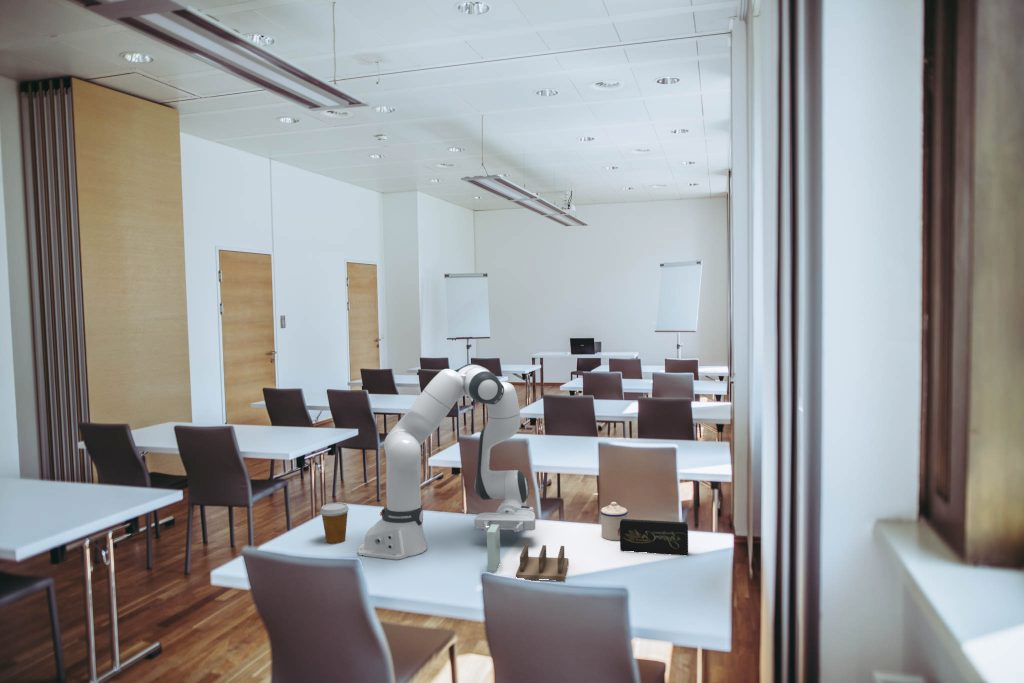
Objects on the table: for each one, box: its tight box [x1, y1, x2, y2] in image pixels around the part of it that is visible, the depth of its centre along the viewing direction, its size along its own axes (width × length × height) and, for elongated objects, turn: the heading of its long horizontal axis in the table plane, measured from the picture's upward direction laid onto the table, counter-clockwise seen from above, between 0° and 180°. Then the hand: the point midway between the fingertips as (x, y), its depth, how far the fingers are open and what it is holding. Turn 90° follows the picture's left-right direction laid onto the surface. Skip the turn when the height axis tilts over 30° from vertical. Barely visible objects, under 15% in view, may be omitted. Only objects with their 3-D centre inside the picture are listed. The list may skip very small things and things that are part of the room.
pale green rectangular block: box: [486, 524, 501, 573], centre depth 203 cm, size 2×7×12 cm, turn 170°
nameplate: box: [619, 518, 689, 556], centre depth 212 cm, size 21×2×10 cm, turn 75°
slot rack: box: [515, 544, 569, 583], centre depth 199 cm, size 14×14×6 cm
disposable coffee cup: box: [319, 502, 350, 545], centre depth 231 cm, size 10×10×12 cm
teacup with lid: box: [600, 501, 629, 541], centre depth 228 cm, size 12×9×12 cm
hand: (501, 529), depth 215 cm, fingers open, 8 cm apart
